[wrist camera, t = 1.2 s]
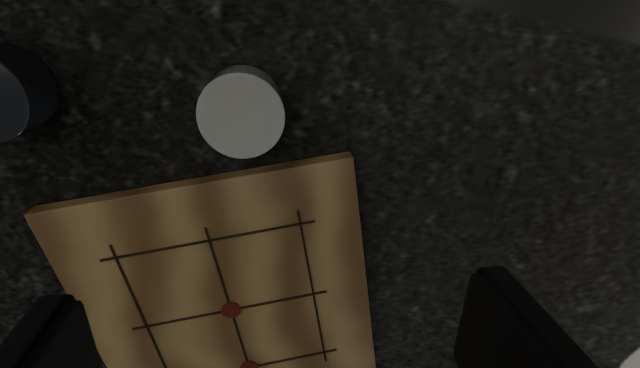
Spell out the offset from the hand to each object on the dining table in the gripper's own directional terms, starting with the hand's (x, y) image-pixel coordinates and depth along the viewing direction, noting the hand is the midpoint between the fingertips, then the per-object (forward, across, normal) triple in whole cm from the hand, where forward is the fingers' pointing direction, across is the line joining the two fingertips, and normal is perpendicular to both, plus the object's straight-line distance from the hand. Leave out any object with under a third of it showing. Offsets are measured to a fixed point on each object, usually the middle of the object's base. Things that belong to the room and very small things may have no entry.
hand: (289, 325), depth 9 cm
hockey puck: (+16, +14, -3) cm, 21 cm away
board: (+16, +4, +12) cm, 20 cm away
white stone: (+16, +2, -2) cm, 16 cm away
